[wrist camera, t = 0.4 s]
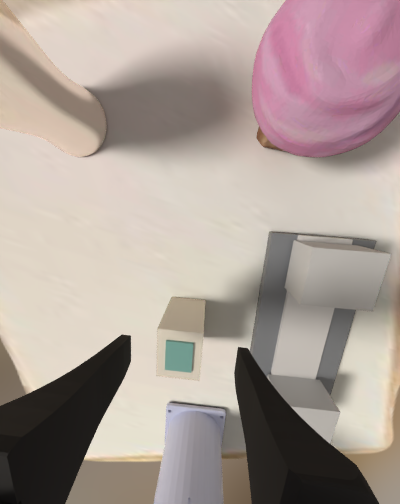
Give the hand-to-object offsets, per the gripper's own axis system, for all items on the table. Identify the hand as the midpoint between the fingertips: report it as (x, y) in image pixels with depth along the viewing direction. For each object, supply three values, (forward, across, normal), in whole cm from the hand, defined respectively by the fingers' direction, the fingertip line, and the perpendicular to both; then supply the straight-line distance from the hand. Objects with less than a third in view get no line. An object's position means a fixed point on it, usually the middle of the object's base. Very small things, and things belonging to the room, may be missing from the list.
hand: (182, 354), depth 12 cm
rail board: (+10, -12, +3) cm, 16 cm away
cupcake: (+10, -7, -18) cm, 21 cm away
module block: (+10, +1, +3) cm, 10 cm away
